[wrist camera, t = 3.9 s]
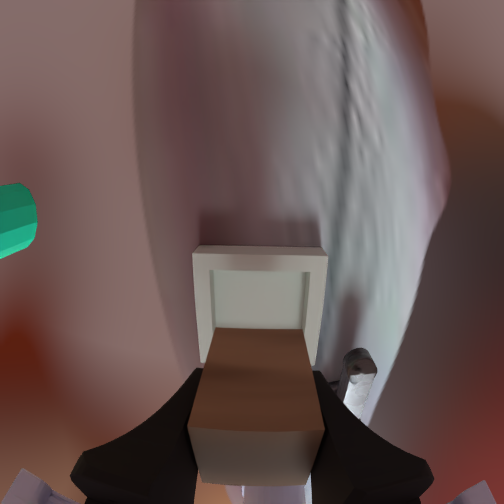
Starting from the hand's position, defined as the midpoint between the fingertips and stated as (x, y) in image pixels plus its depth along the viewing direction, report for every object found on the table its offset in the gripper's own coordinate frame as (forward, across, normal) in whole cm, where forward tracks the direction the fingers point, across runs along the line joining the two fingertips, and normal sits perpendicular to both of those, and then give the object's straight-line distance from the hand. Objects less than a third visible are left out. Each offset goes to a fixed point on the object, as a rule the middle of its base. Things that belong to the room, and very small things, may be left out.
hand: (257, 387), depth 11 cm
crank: (+7, -7, +7) cm, 12 cm away
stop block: (+2, 0, 0) cm, 2 cm away
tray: (+8, 0, 0) cm, 9 cm away
